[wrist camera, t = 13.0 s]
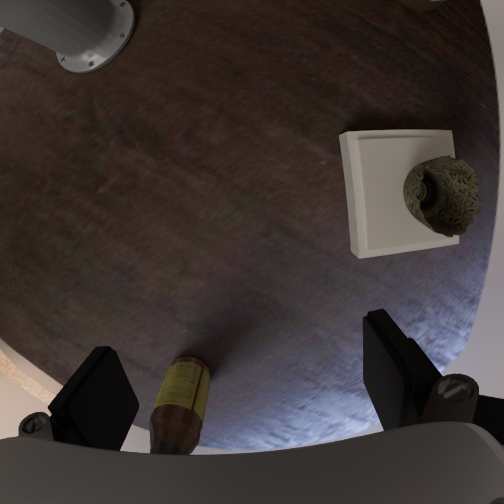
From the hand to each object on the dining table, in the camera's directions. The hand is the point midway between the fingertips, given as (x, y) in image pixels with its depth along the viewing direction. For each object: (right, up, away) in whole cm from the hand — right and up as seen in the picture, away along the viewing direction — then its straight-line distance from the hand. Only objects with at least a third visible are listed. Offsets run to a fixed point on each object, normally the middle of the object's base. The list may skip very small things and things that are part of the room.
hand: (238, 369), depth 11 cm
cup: (+19, +11, +21) cm, 30 cm away
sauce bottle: (-8, -13, +32) cm, 35 cm away
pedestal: (+18, +12, +24) cm, 33 cm away
